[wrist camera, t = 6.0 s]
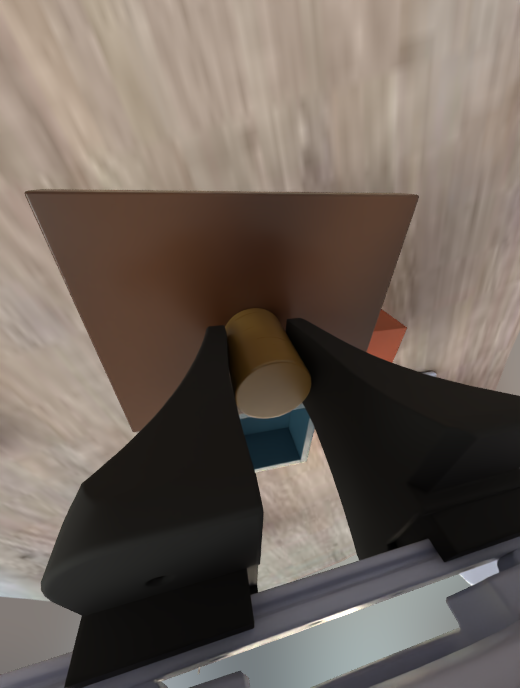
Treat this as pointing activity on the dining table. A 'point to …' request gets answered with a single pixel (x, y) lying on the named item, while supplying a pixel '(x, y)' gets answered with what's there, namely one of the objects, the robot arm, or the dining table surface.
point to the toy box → (278, 439)
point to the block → (386, 337)
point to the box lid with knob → (220, 281)
